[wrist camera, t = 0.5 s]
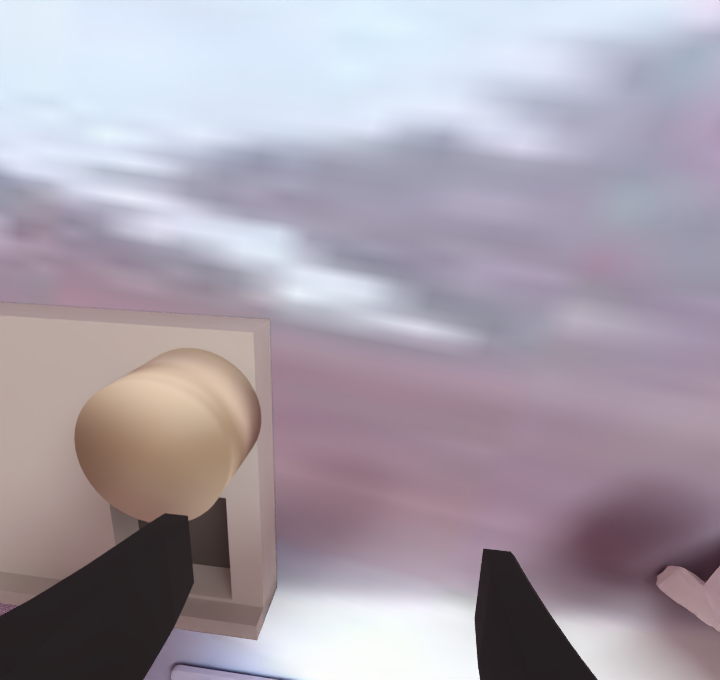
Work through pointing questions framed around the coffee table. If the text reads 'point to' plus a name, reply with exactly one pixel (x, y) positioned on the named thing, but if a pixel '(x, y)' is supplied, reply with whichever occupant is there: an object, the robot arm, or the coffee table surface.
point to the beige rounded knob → (168, 434)
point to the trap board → (75, 493)
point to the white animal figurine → (693, 593)
